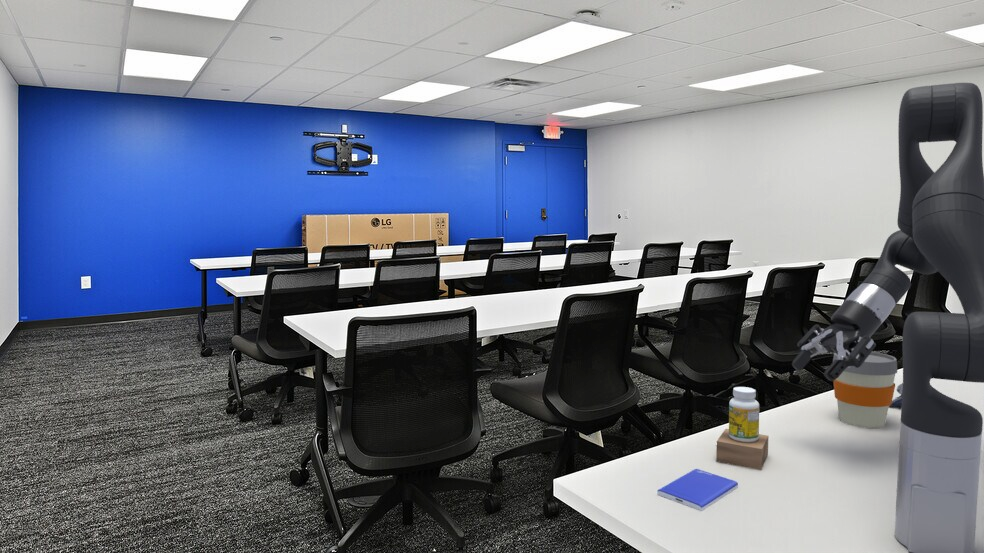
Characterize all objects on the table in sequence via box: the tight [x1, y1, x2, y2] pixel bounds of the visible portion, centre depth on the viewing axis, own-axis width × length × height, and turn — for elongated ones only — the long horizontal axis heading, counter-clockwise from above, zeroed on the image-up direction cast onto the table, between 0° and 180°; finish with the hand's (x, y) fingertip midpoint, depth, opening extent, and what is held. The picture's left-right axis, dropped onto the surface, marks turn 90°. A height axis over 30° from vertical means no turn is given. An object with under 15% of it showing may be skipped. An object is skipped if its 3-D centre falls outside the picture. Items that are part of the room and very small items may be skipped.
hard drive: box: [657, 468, 739, 512], centre depth 106 cm, size 2×8×12 cm
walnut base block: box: [715, 428, 769, 471], centre depth 119 cm, size 8×8×4 cm
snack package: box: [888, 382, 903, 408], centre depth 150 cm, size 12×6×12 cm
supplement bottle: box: [728, 386, 760, 442], centre depth 118 cm, size 5×5×10 cm
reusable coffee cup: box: [832, 351, 898, 429], centre depth 139 cm, size 13×13×15 cm
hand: (811, 373), depth 119 cm, fingers open, 8 cm apart
